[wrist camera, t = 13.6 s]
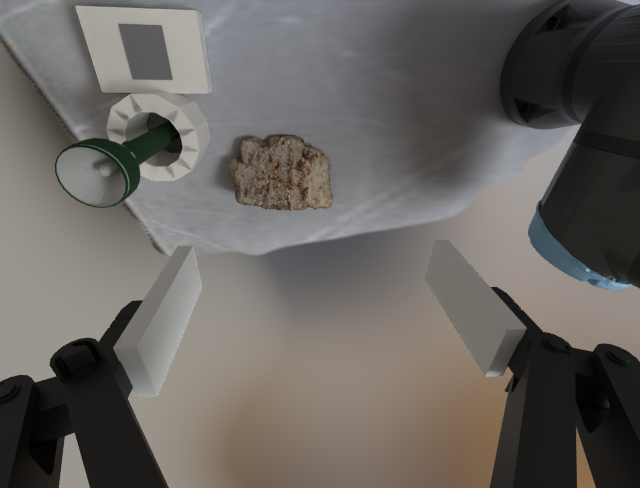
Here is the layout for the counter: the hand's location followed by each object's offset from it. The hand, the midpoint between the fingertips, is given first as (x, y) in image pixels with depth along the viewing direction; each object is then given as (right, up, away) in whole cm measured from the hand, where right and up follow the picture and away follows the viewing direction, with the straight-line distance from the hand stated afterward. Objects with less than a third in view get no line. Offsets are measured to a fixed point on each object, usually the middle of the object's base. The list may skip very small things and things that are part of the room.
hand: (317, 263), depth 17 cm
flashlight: (-20, +16, +24) cm, 35 cm away
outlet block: (-19, +20, +21) cm, 35 cm away
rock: (-5, +12, +28) cm, 31 cm away
